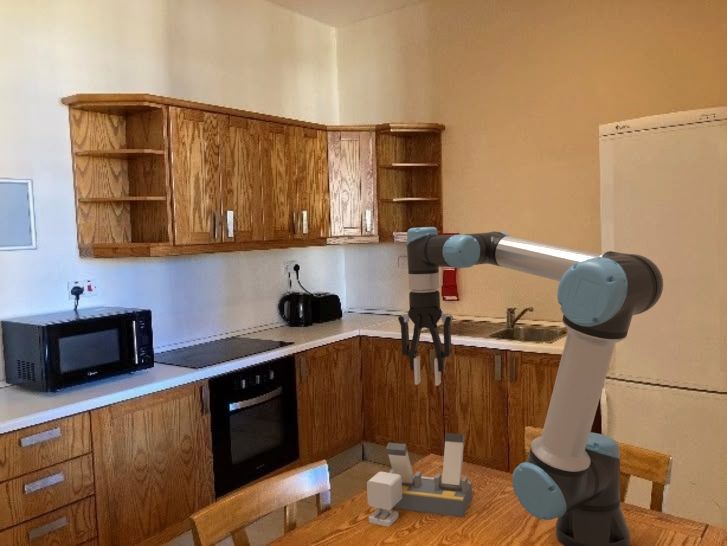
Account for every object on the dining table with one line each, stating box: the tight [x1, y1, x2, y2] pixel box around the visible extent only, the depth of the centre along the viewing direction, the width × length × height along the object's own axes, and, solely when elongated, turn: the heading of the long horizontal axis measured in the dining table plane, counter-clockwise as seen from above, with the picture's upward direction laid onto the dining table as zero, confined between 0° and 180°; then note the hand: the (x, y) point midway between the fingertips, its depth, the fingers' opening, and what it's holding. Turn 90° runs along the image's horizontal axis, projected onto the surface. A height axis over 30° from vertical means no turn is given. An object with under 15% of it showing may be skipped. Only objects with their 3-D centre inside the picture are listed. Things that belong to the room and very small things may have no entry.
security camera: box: [366, 471, 402, 528], centre depth 150 cm, size 6×7×10 cm
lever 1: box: [385, 442, 414, 485], centre depth 157 cm, size 5×2×13 cm, turn 69°
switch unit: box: [388, 468, 473, 518], centre depth 158 cm, size 20×11×7 cm, turn 69°
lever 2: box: [440, 432, 466, 490], centre depth 158 cm, size 5×2×13 cm, turn 69°
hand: (427, 383), depth 155 cm, fingers open, 4 cm apart
